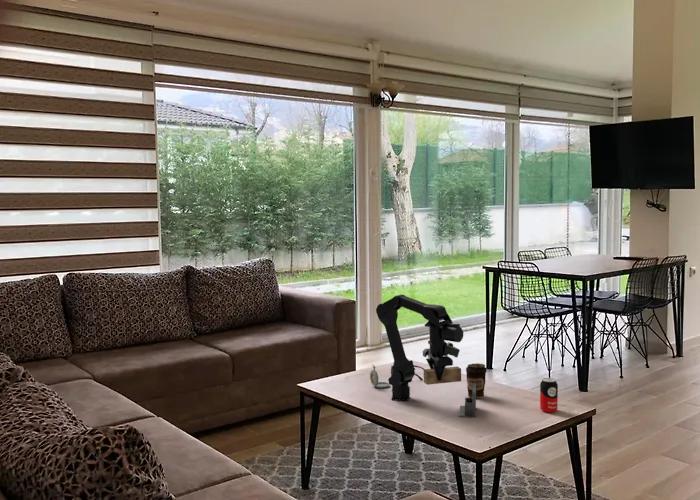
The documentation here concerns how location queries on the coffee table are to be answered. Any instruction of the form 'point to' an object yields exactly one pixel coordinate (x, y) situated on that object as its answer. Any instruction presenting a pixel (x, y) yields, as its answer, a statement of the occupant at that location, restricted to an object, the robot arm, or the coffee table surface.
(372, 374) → the pocket watch
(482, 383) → the coffee cup
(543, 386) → the beverage can
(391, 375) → the sunglasses
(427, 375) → the rail
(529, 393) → the coffee table surface
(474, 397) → the bracket
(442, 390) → the coffee table surface
